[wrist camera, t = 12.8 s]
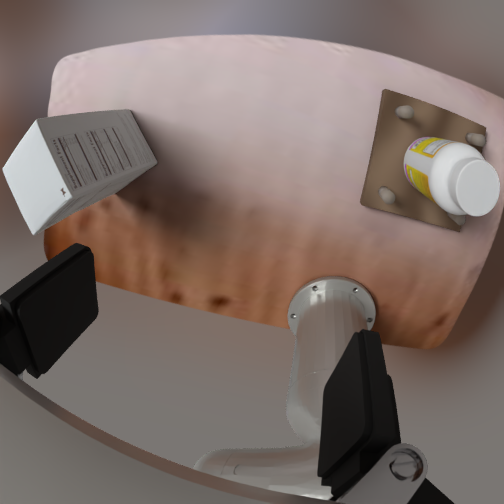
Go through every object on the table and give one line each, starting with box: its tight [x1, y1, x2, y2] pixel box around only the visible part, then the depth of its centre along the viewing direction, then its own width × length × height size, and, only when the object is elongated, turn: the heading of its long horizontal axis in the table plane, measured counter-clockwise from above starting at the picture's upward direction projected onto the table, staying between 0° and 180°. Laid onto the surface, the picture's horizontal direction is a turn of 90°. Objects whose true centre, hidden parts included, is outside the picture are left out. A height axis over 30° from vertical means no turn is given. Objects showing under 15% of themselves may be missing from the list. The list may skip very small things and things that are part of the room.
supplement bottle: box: [404, 137, 500, 216], centre depth 24 cm, size 7×7×13 cm
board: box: [360, 89, 486, 232], centre depth 29 cm, size 14×14×4 cm
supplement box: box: [3, 109, 157, 235], centre depth 31 cm, size 10×9×17 cm
